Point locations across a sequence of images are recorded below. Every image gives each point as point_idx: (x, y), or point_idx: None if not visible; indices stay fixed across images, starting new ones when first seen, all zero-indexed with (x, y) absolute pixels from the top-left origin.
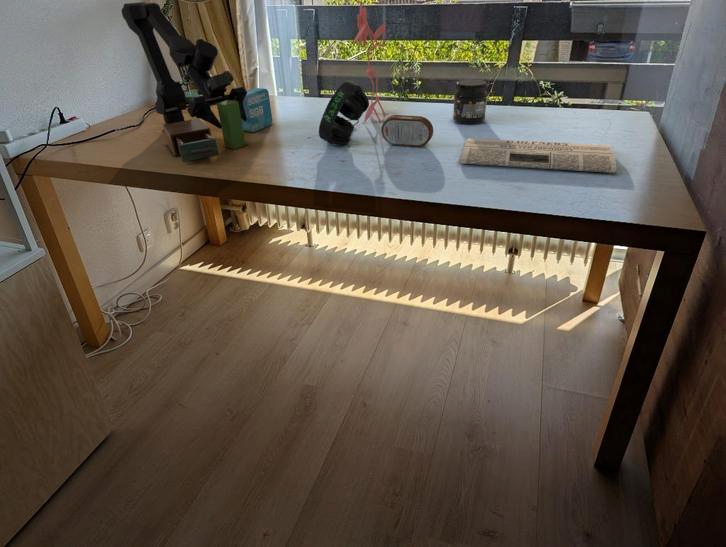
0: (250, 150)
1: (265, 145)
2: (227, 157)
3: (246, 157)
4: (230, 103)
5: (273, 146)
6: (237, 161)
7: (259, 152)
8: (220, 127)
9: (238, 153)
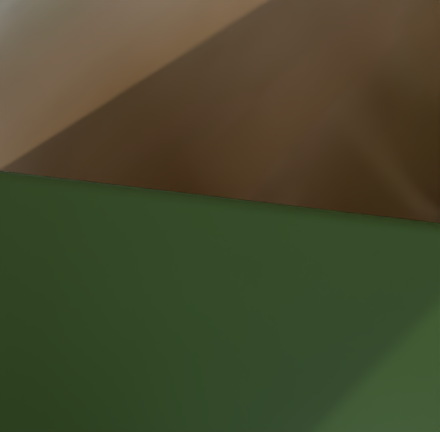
0: (217, 113)
1: (74, 91)
2: (409, 155)
3: (342, 32)
4: (217, 221)
5: (68, 20)
6: (430, 31)
7: (220, 22)
8: None
9: (308, 146)
